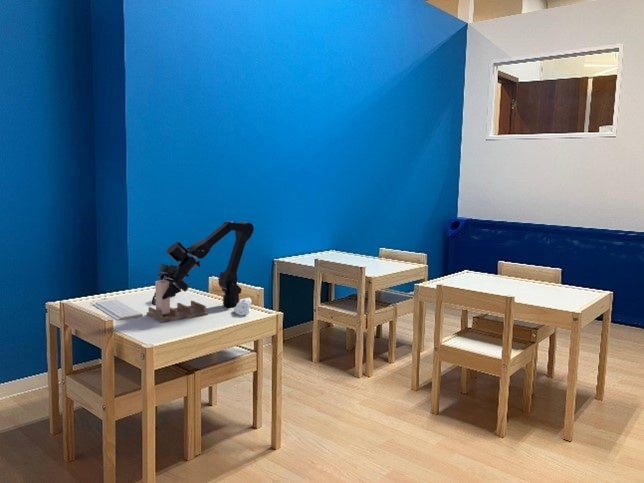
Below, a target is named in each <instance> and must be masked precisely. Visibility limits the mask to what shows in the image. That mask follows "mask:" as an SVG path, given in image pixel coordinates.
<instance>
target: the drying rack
mask: <svg viewBox="0 0 644 483" xmlns="http://www.w3.org/2000/svg"><path fill="white" fill-rule="evenodd" d="M147 309H148V311H147V312H146V316H148V317H150V318H151V319H153V320H155V321H157V322H159V323H162V324H163V323H169V322H173V321H174V322H175V321H179V320H185V319H191V318H196V317H197V318H198V317H202V316H207V315H209V312H207V306H206V305H204V304H201V303H200V302H198V301H195V300H190V305H186V304H183V303H181V302H177V303H176V307H171V306H170V313H168V314H163V313H161V312H159V311H157V310H156V308H153V307H151V306H149V307H148V308H147Z"/></svg>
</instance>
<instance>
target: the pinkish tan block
mask: <svg viewBox="0 0 644 483" xmlns="http://www.w3.org/2000/svg"><path fill="white" fill-rule="evenodd" d="M154 283H155V287H154V288H155V292H156V298H155V299H156V301H155V302H156V305H155V309H156V310H157V311H159V312H161V313H163V314H168V313H170V307H171V297H168V298H166V299H162V297H163V295H164V294H165V292H166V291H167V289H168V288H169V282H166V281H164V280H161V281H160V280H156V281H155V282H154Z"/></svg>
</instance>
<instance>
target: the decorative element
mask: <svg viewBox="0 0 644 483" xmlns="http://www.w3.org/2000/svg"><path fill="white" fill-rule="evenodd" d="M176 295H177V293H176V294H174V295H172V296H170V298H172V297H175V296H176ZM151 304H152V305H153V306H156V291H154V295H153V296H152V301H151Z"/></svg>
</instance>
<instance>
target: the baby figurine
mask: <svg viewBox="0 0 644 483" xmlns="http://www.w3.org/2000/svg"><path fill="white" fill-rule="evenodd" d="M251 305H252V299H251V298H250V297H245V298H239V302H238V303H237V305H236V307H233V311H234V313H235V314H237V315H239V316H247V315H248V314H250V312H251Z"/></svg>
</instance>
